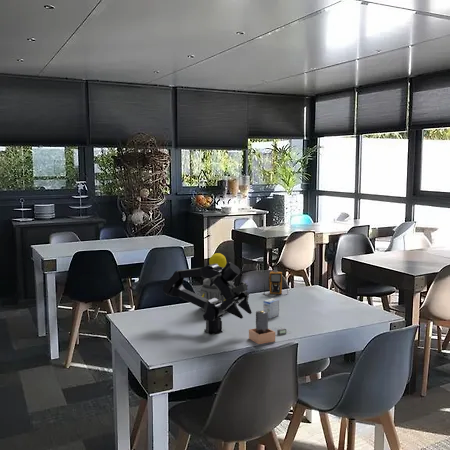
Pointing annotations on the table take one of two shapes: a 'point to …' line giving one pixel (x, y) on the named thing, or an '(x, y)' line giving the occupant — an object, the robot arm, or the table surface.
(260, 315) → the cell
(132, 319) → the table surface
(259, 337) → the cup
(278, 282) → the multimeter
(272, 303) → the medicine box
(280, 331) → the checker pad
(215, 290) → the decorative lamp
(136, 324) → the table surface
